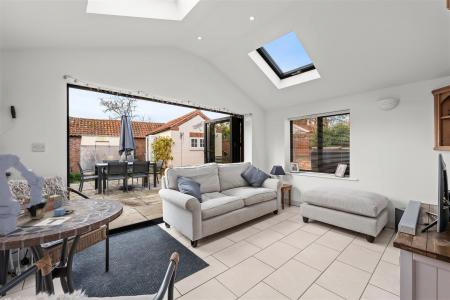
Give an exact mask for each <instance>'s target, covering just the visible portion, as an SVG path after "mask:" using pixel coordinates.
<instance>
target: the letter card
mask: <svg viewBox="0 0 450 300" xmlns="http://www.w3.org/2000/svg"><path fill="white" fill-rule="evenodd" d="M71 218H72V216H61V217H59V216H58V217H57V216H56V217H48V218H46V219H44V220H41V221H40V222H38V223H35V224H34V225H33V227H42V226H45V227H46V226H55V225H57V226H58V225H61V224H63V223H64V222H66V221H68V220H69V219H71Z"/></svg>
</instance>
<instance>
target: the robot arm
mask: <svg viewBox="0 0 450 300" xmlns="http://www.w3.org/2000/svg"><path fill="white" fill-rule="evenodd" d="M20 159H21V158H20V157H19V156H18V155H17V154H15V153H0V235H8V234H10V233H12V232H14V231H16V230H17V231H18V230H19V229H21V228H22V227H21V226H18V215H19V213H20V212H21V210H22V205H21V204H20V203H19V201H18V200H17V199H16V198H14V197H13V196H12V192H11V187H10V185H9V182H8V178H7V175H6V171H7V170H9V169H11V168H13V169H15V170H16V171H18V173H19V172H20V177H22V178H23V179H24V180H26V182H27V185H28V186H30V193H29V194H30V195H29V197H30V203H28V204H26V209H27V210H28V211H29V213H30V215H31V217H35V216H36V211H37V209H44V207H45V205H46V199H43V194H44V191H43V190H44V189H43V188H44V187H45V186H44V185H45V184H46V183H45V182H46V180H45V178H44V177H43V176H40V175H39V174H37V173H36V172H35V171H34V169H30V168H29V169H28V168H27V167H26V166H25V165H24V164H23V162H22V161H21V160H20ZM35 205H36V206H35ZM30 215H29V216H30Z"/></svg>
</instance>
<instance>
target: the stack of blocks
mask: <svg viewBox="0 0 450 300" xmlns="http://www.w3.org/2000/svg"><path fill="white" fill-rule="evenodd" d="M43 199H46V205H45V207H44V209H45V212H48V211H49V210H53V209H54V210H55V209H58V208H60V207H62V206H63V204H62V203H63V198H62V194H53V195H51V194H50V193H43ZM23 202H24V203H23V204H24V205H23V206H24V215H25V216H30V213H29V211H28V210H27V209H26V204H28V203H30V196H28V197H24V201H23ZM35 206H36V205H35Z"/></svg>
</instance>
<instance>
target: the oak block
mask: <svg viewBox="0 0 450 300" xmlns="http://www.w3.org/2000/svg"><path fill="white" fill-rule="evenodd" d="M45 212H46V211H45V209H37V211H36V216H35V217H31V215H29V219H30V220H38V219H42V218H44V217H46V214H45Z"/></svg>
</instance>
